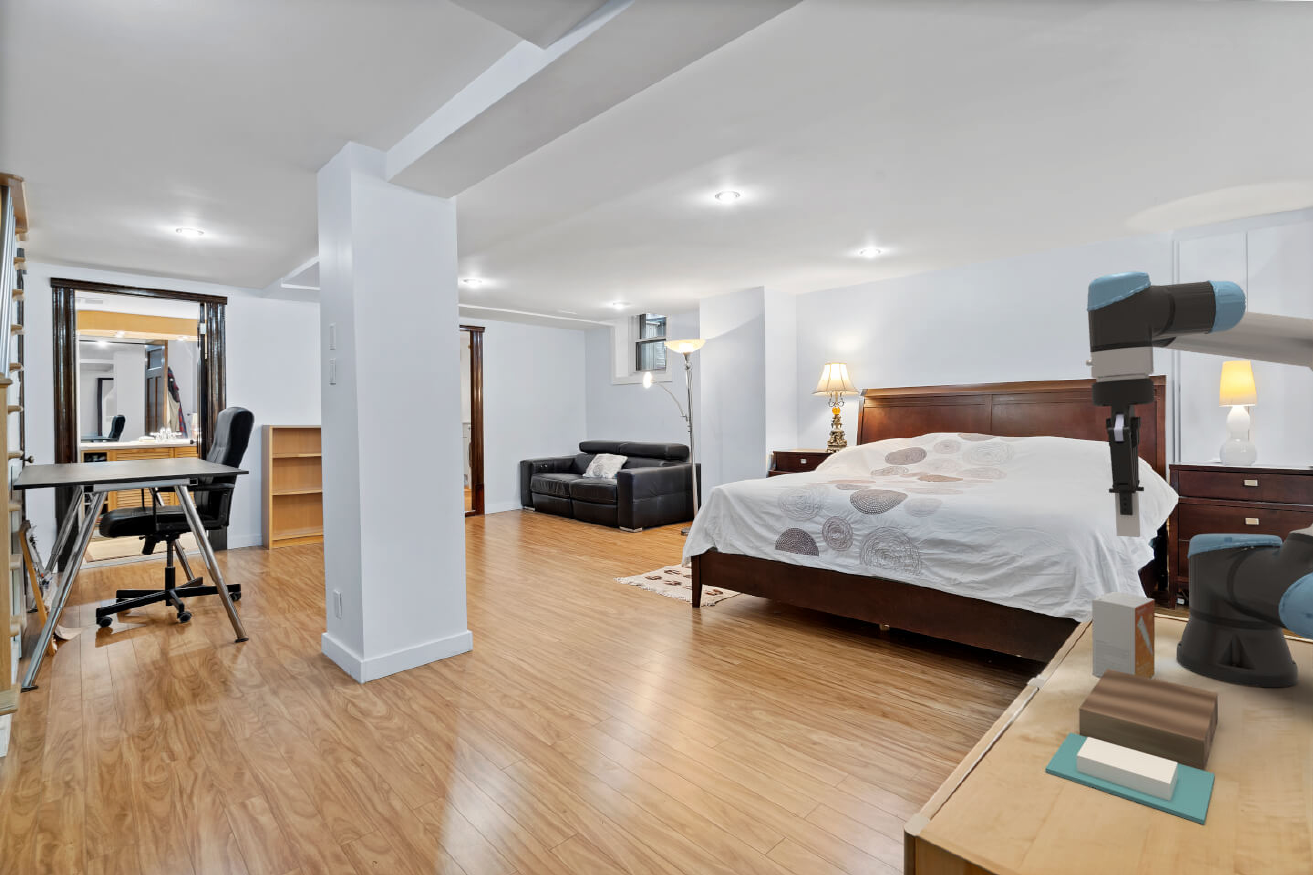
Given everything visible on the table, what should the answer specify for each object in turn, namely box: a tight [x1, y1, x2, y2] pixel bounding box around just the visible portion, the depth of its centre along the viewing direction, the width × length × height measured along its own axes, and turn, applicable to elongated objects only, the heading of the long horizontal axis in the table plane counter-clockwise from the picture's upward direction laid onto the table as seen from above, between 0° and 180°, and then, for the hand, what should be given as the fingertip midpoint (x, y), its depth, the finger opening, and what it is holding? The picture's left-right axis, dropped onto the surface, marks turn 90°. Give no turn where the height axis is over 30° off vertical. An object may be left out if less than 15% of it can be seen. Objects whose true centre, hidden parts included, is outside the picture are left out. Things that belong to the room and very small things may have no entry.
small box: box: [1091, 590, 1156, 678], centre depth 106 cm, size 8×6×13 cm
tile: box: [1077, 737, 1178, 801], centre depth 77 cm, size 6×9×2 cm, turn 44°
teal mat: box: [1044, 732, 1216, 825], centre depth 78 cm, size 12×15×1 cm
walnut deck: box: [1078, 669, 1219, 771], centre depth 88 cm, size 18×13×4 cm
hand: (1128, 535), depth 95 cm, fingers closed
